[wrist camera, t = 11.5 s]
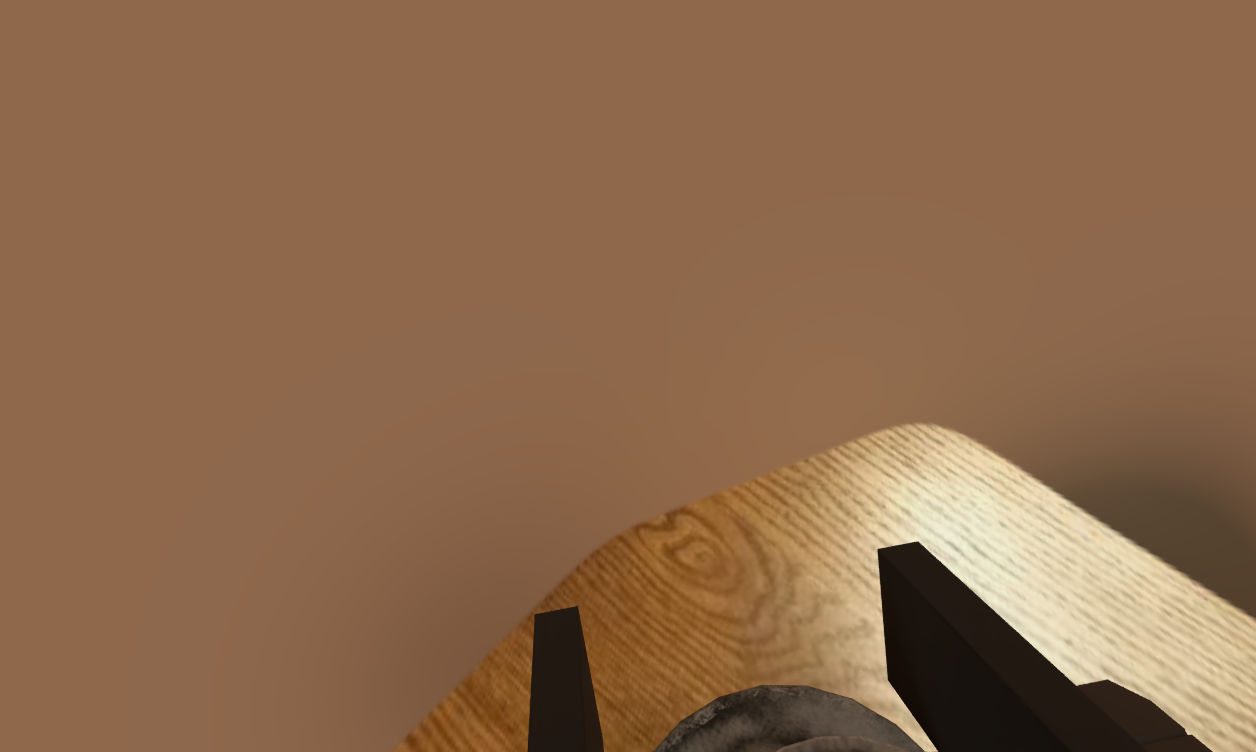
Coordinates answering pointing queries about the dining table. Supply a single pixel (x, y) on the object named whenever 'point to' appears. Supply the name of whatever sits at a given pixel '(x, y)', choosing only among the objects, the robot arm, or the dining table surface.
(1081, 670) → the dining table surface
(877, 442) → the dining table surface
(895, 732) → the grey chess piece
